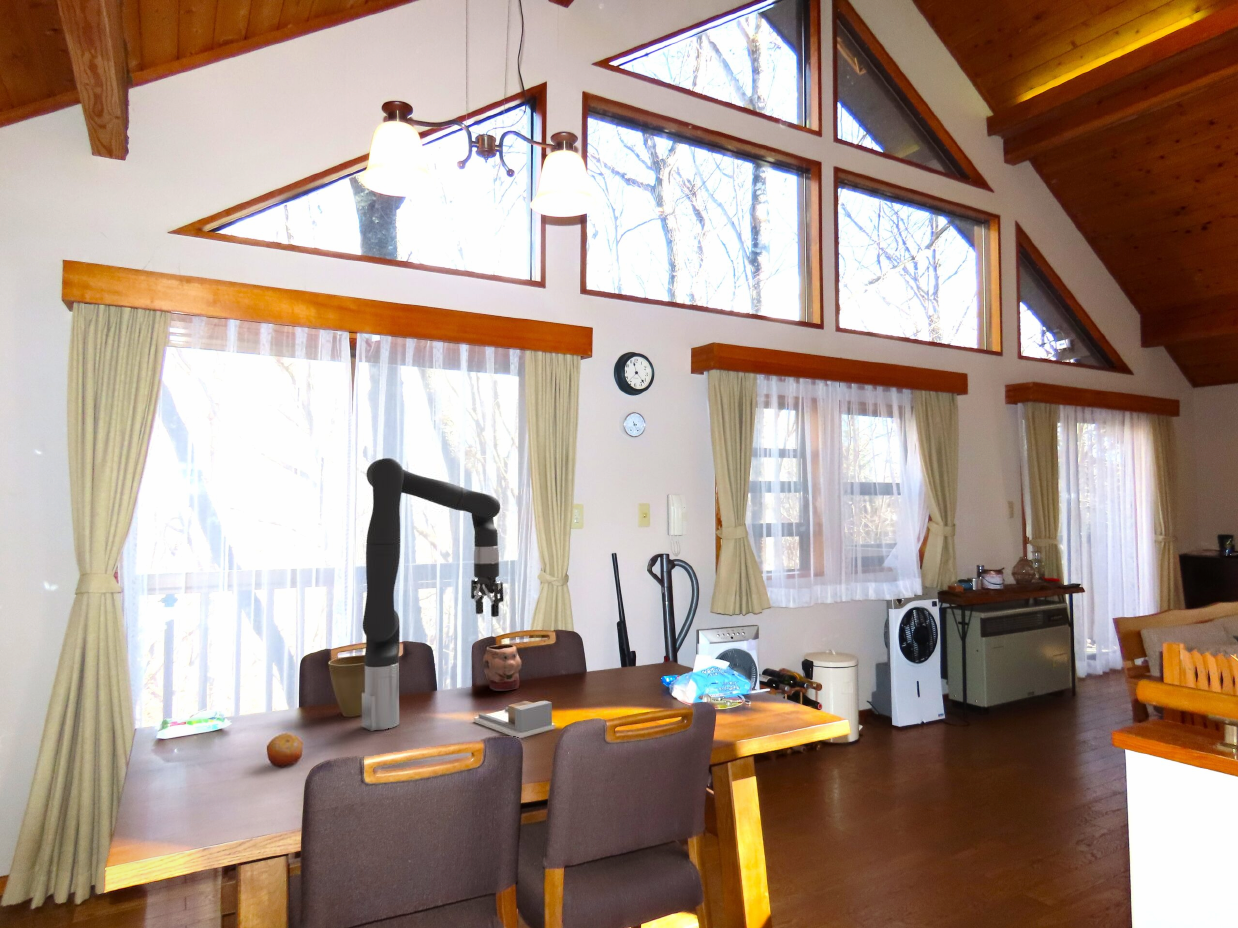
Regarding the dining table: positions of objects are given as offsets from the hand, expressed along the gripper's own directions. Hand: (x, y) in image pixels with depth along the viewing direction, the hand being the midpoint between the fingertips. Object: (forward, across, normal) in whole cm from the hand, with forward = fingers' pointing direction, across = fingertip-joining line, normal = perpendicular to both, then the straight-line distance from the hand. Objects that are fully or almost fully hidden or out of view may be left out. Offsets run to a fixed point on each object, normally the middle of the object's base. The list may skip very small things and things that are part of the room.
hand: (487, 615), depth 230 cm
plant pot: (+28, -26, -30) cm, 49 cm away
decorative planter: (+28, -20, +18) cm, 39 cm away
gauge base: (+28, +19, -4) cm, 34 cm away
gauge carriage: (+27, +24, -4) cm, 36 cm away
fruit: (+28, +5, -61) cm, 67 cm away
